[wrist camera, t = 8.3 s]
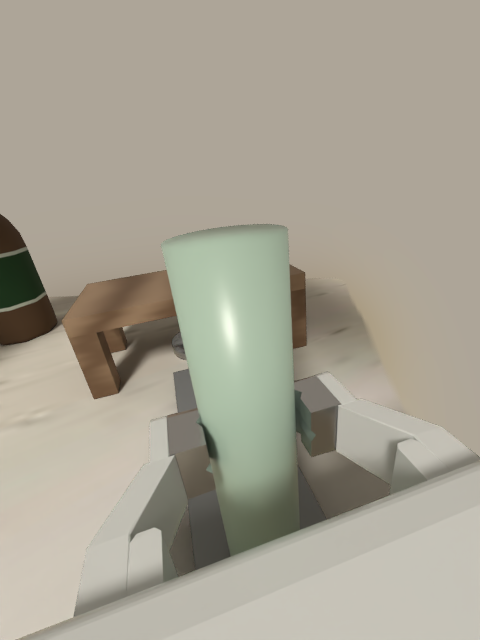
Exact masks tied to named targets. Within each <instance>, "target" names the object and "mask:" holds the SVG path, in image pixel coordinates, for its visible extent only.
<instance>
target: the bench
mask: <svg viewBox="0 0 480 640" xmlns="http://www.w3.org/2000/svg"><path fill="white" fill-rule="evenodd" d="M289 268H290V293H291V318H292V343H293V349H294V348H298V347H302V346H306V292H305V272H303V271H301V270H299V269H297V268H296V267H294V266H292V265H290V264H289ZM172 316H177V314H176V309H175V305H174V300H173V296H172V292H171V287H170V283H169V278H168V274H167V270H163V271H158V272H152V273H147V274H141V275H135V276H130V277H125V278H119V279H113V280H108V281H102V282H96V283H91V284H87V285H86V287H85V288H84V290H83V291H82V293H81V294H80V295H79V297H78V298H77V300H76V301H75V302H74V304H73V305H72V307H71V308H70V310H69V311H68V312H67V314H66V315H65V317H64V318H63V319H62V323H63V326H64V328H65V330H66V333H67V335H68V338H69V340H70V342H71V345H72V347H73V350H74V352H75V354H76V357H77V359H78V362H79V364H80V366H81V369H82V371H83V374H84V376H85V378H86V381H87V383H88V386H89V388H90V390H91V393H92V395H93V398H94V399H97V398H101V397H105V396H109V395H113V394H117V393H118V392H119V386H120V377H119V374H118V372H117V369H116V366H115V363H114V360H113V358H112V355H111V353H113V352H117V351H121V350H126V344H127V340H126V337H125V334H124V331H123V328H122V327H125V326H130V325H134V324H139V323H144V322H149V321H153V320H158V319H163V318H168V317H172Z"/></svg>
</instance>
